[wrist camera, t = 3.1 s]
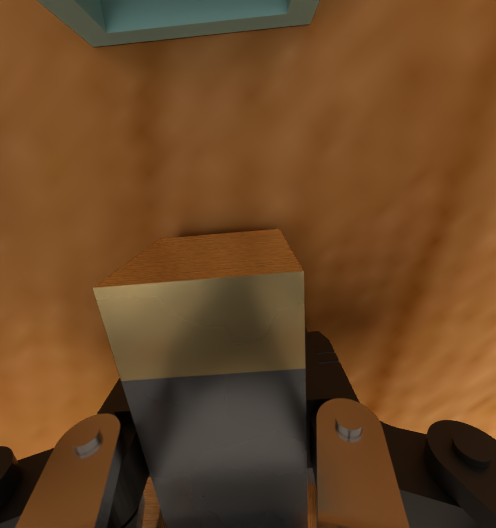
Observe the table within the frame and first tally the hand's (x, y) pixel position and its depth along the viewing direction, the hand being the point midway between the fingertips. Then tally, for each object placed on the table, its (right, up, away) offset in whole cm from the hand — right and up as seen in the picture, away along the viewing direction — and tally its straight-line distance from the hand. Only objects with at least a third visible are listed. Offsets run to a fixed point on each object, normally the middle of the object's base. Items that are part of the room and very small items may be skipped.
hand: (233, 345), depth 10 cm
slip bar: (0, -4, +1) cm, 4 cm away
